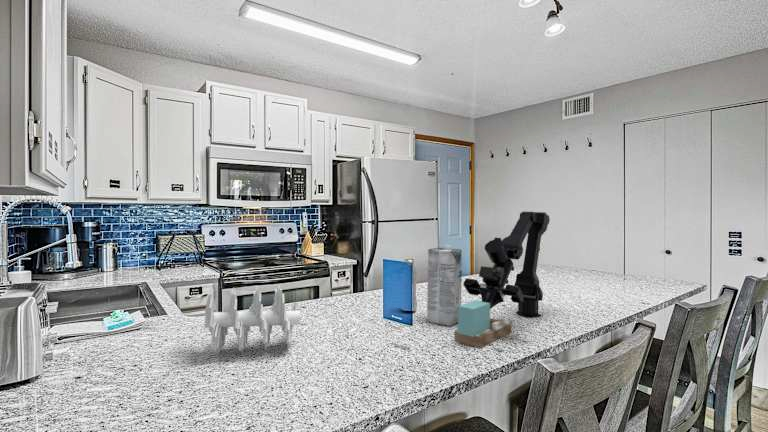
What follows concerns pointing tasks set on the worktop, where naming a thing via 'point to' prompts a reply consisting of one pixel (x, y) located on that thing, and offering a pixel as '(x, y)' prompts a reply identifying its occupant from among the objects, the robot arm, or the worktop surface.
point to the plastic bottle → (414, 284)
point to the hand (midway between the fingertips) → (482, 312)
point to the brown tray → (487, 333)
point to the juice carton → (444, 285)
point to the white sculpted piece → (250, 319)
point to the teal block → (473, 318)
